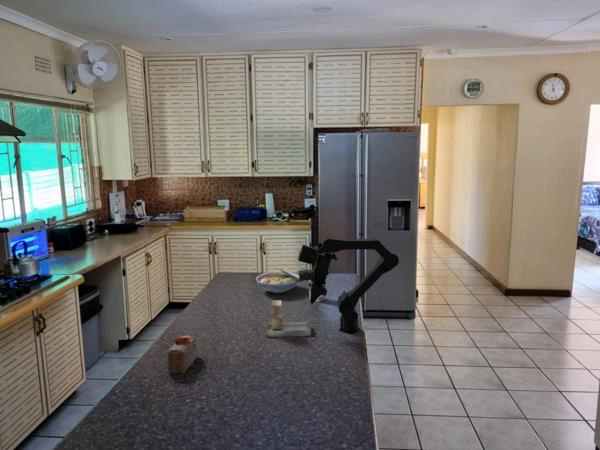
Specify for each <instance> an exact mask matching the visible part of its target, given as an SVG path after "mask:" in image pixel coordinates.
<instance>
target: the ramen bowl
mask: <svg viewBox="0 0 600 450" xmlns="http://www.w3.org/2000/svg"><path fill="white" fill-rule="evenodd" d="M278 269H279V268H278ZM255 280H256V282H257V283H258V285H259V286H260V287H261V288H262V289H263V290H265V291H267V292H271V293H273V294H282V293H285V292H287V291H289V290H291V289H293V288H294V287H295V286H296V285H297V284H298V283H299V282H300V281H299V273H295V272H291V271H285V270H283V269H279V271H268V272H265V273H261V274H258V275H257V276H256V278H255Z"/></svg>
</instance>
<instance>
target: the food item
mask: <svg viewBox="0 0 600 450" xmlns="http://www.w3.org/2000/svg"><path fill="white" fill-rule="evenodd" d="M199 351H200V346H199V340H198V339H197V338H195V336H193V335H187V334H186V335H181V336H179V337H177V338H176V339H175V340H174V342H173V345H172V346H171V347H170V348H169V349H168V350H167V354H166V355H167V369H168V370H167V371H168V373H170V374H185V373H186V371H187V369H189V367H191V366H193V364H194V361H196V357H197V355H198V354H199Z"/></svg>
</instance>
